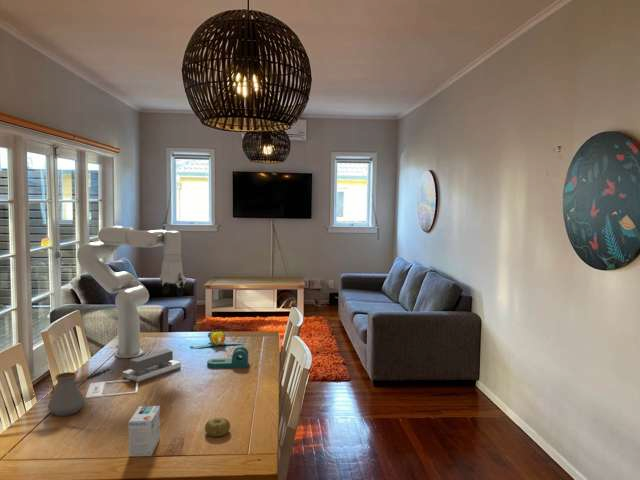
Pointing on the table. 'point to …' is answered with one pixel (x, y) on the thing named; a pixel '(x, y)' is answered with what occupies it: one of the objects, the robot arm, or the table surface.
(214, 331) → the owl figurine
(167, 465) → the table surface
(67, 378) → the coffee pot
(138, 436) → the light bulb box
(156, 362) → the grey bar
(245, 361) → the bracket
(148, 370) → the mounting plate
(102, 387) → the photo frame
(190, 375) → the table surface
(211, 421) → the sculpture
